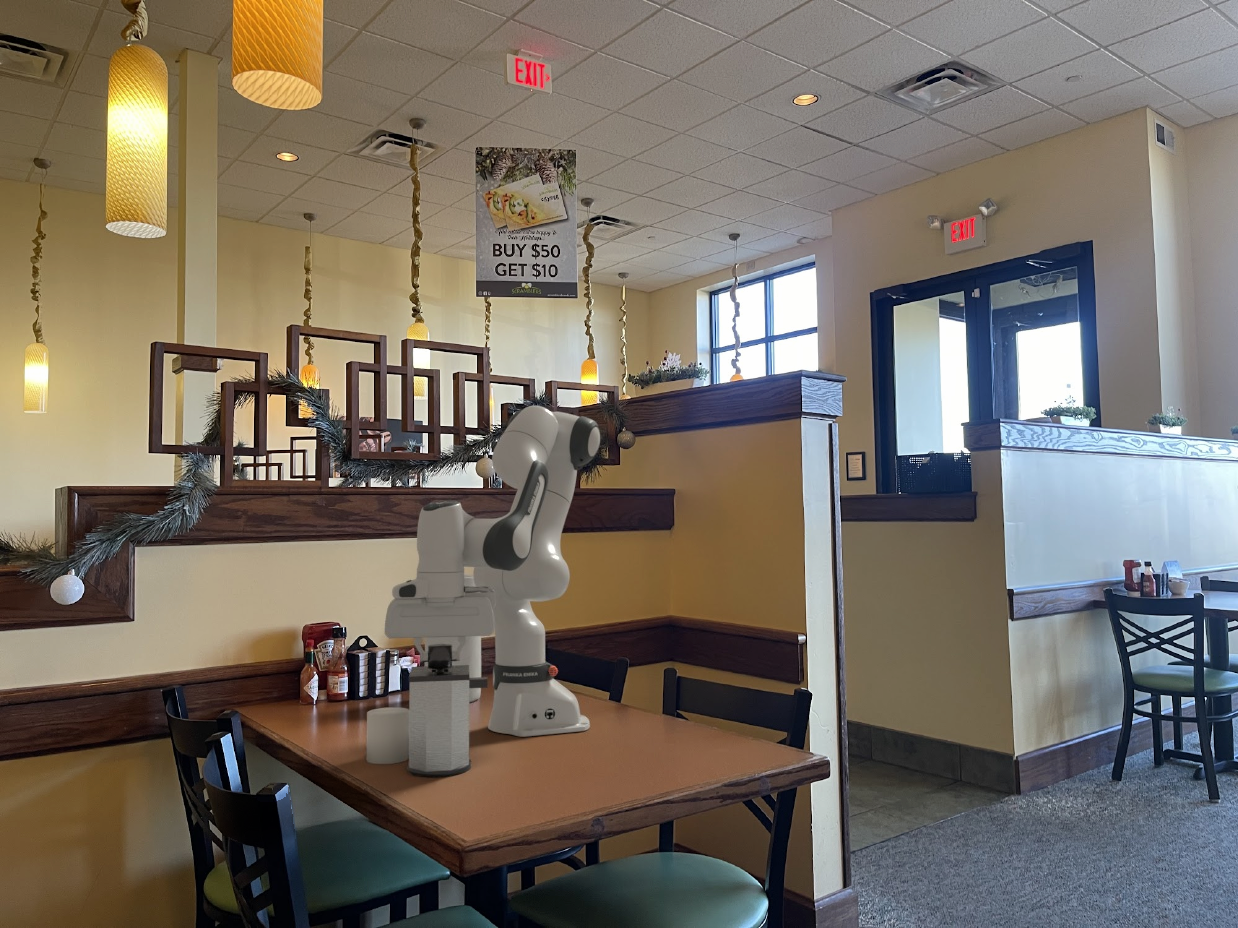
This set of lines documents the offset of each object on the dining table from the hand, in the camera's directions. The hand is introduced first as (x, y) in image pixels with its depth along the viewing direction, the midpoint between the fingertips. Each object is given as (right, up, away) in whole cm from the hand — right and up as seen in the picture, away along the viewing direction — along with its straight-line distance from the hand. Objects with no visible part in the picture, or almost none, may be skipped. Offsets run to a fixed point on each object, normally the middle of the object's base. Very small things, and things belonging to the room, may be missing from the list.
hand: (439, 661), depth 169 cm
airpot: (+2, -20, -1) cm, 20 cm away
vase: (-9, -24, +62) cm, 67 cm away
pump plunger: (0, -18, -1) cm, 18 cm away
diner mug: (-12, -20, +7) cm, 25 cm away
